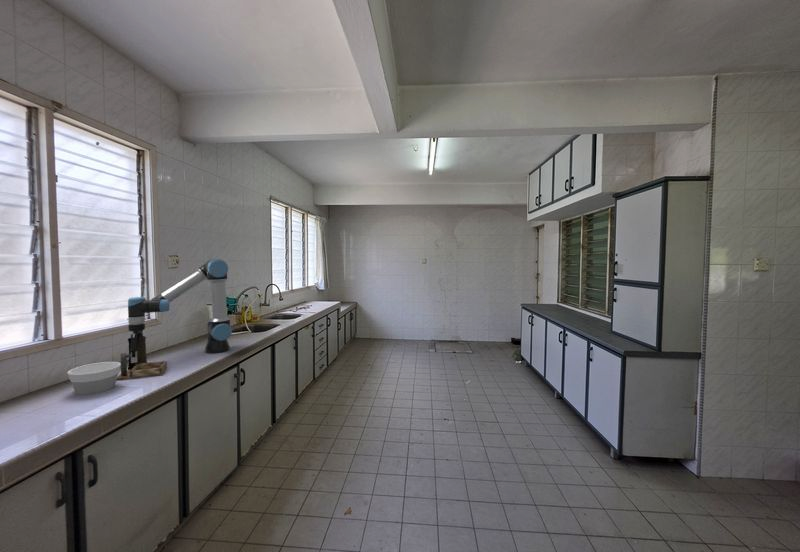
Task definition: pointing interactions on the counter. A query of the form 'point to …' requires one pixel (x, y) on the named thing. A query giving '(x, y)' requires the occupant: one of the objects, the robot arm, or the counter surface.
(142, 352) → the container
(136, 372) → the hook shelf
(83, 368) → the bowl
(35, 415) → the counter surface
